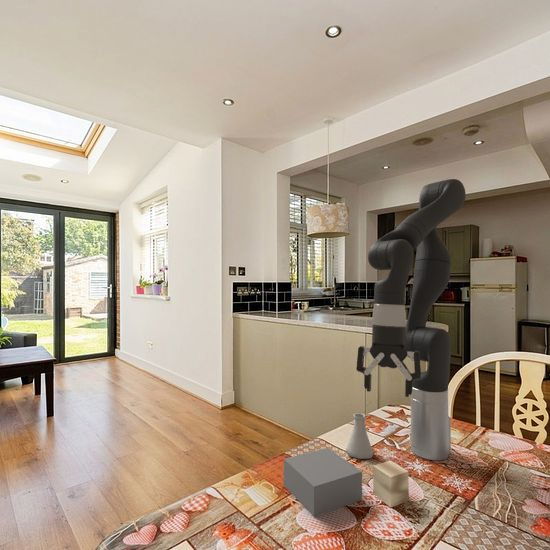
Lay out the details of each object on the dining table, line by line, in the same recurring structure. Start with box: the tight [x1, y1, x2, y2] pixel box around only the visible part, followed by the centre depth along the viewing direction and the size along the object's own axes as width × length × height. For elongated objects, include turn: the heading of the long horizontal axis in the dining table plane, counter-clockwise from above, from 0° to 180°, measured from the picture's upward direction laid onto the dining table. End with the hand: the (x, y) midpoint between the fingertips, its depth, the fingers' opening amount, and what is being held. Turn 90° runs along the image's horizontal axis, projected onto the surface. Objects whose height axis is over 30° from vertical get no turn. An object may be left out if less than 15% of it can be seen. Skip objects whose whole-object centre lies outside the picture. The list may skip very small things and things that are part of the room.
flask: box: [345, 412, 375, 460], centre depth 92 cm, size 7×7×10 cm
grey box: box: [283, 447, 363, 518], centre depth 75 cm, size 12×12×6 cm
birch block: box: [372, 460, 410, 508], centre depth 73 cm, size 5×5×6 cm
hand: (387, 393), depth 81 cm, fingers open, 8 cm apart
